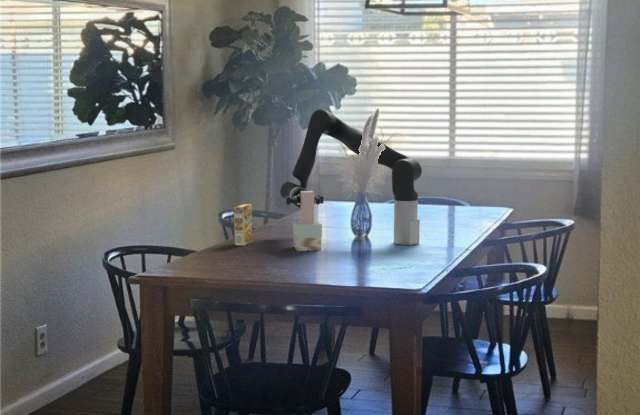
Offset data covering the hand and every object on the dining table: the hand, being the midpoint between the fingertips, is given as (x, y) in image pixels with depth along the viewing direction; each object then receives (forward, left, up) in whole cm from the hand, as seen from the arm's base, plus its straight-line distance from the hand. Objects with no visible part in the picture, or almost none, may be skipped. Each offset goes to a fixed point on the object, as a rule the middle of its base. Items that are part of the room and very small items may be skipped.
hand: (307, 202), depth 359 cm
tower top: (+1, -1, -13) cm, 13 cm away
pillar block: (+1, -1, -8) cm, 8 cm away
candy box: (+27, +9, -18) cm, 33 cm away
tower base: (+1, -1, -18) cm, 18 cm away
